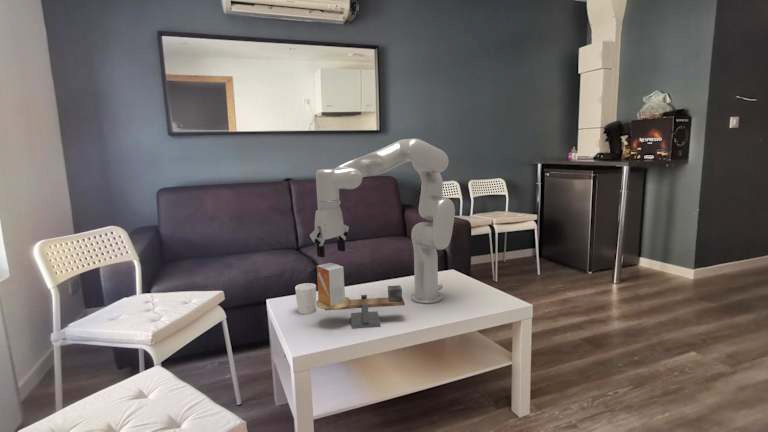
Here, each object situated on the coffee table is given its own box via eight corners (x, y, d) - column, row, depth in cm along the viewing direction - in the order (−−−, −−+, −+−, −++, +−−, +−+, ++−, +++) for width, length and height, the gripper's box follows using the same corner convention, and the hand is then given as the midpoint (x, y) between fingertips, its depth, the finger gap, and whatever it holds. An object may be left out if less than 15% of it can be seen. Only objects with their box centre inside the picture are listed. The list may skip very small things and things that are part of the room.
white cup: (307, 316, 154) (306, 290, 152) (292, 312, 158) (290, 287, 157) (321, 309, 160) (320, 284, 159) (306, 306, 165) (305, 282, 163)
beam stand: (377, 313, 154) (377, 293, 153) (380, 326, 142) (379, 304, 141) (351, 315, 153) (350, 294, 152) (351, 328, 142) (350, 306, 140)
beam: (401, 298, 154) (400, 282, 153) (405, 310, 142) (405, 292, 142) (317, 303, 152) (316, 287, 151) (315, 315, 140) (314, 298, 139)
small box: (318, 301, 147) (316, 265, 145) (332, 296, 151) (331, 262, 149) (330, 306, 141) (328, 269, 139) (345, 302, 145) (344, 266, 143)
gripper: (339, 202, 150) (341, 247, 152) (301, 207, 137) (305, 257, 139) (354, 202, 145) (356, 250, 148) (316, 209, 132) (320, 260, 135)
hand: (331, 253), depth 143 cm, fingers open, 9 cm apart
